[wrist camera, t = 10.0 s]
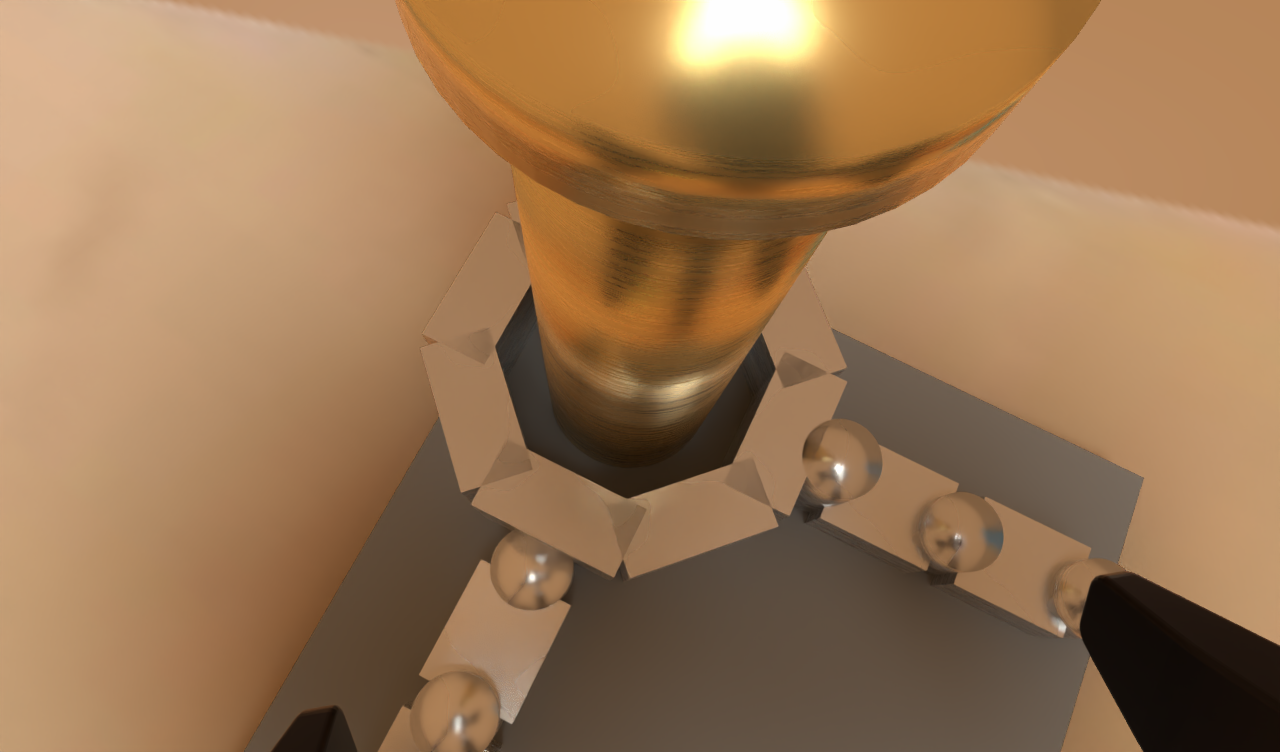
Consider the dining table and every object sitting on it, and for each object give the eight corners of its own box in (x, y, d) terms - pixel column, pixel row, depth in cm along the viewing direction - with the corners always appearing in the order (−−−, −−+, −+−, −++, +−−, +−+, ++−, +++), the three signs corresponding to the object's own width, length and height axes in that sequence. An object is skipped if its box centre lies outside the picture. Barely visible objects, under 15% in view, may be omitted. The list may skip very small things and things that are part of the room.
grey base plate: (859, 1302, 15) (878, 1349, 14) (165, 912, 16) (138, 932, 15) (1116, 484, 20) (1143, 477, 19) (565, 219, 21) (564, 200, 20)
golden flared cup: (642, 540, 18) (832, 336, 4) (478, 399, 18) (172, -187, 5) (775, 379, 19) (1262, -190, 5) (618, 252, 19) (693, -553, 6)
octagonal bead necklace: (874, 1323, 14) (930, 1464, 12) (125, 902, 15) (42, 956, 13) (1141, 455, 19) (1219, 434, 16) (556, 175, 20) (551, 118, 17)
